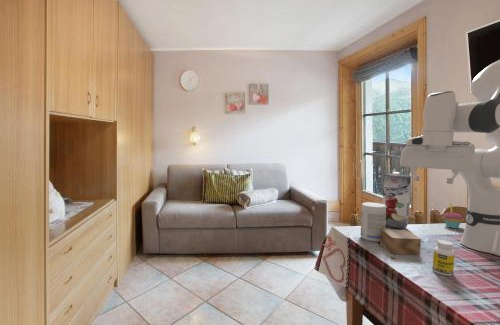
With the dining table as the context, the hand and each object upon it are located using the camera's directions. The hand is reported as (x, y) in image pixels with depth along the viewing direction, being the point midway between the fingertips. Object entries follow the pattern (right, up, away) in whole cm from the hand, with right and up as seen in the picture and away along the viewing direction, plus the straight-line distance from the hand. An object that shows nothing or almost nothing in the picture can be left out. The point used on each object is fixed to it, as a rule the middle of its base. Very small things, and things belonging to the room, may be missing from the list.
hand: (432, 182), depth 91 cm
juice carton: (+9, -25, +41) cm, 49 cm away
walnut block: (-4, -27, +13) cm, 30 cm away
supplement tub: (-9, -26, +25) cm, 37 cm away
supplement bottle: (0, -29, -5) cm, 29 cm away
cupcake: (+38, -25, +43) cm, 63 cm away
